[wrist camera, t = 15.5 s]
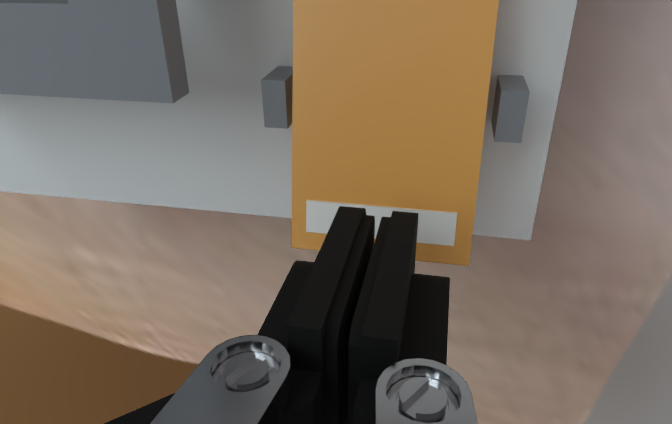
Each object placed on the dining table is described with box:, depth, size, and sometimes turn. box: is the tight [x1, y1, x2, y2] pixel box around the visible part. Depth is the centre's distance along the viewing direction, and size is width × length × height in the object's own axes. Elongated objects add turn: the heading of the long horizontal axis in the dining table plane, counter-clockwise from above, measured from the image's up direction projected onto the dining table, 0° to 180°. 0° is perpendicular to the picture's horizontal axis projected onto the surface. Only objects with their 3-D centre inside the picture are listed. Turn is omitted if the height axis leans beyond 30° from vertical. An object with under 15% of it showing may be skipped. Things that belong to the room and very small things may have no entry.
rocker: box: [291, 0, 499, 266], centre depth 12 cm, size 7×4×1 cm, turn 1°
